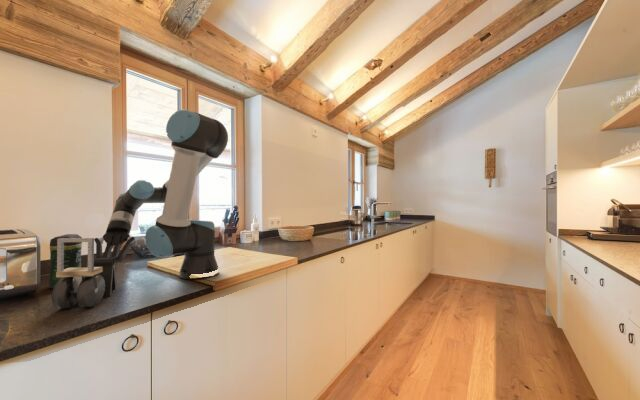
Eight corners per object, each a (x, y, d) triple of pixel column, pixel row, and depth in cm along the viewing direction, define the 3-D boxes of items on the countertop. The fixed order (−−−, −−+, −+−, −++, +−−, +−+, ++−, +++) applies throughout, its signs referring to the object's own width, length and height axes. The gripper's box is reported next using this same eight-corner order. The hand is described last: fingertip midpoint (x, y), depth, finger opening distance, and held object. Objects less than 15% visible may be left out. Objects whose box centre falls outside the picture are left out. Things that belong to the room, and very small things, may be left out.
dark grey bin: (109, 296, 89) (110, 259, 89) (86, 299, 86) (86, 261, 86) (116, 288, 97) (117, 254, 97) (95, 290, 95) (95, 256, 95)
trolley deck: (102, 271, 84) (102, 266, 84) (92, 276, 79) (92, 270, 79) (68, 272, 82) (68, 267, 82) (56, 277, 77) (56, 272, 77)
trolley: (105, 300, 86) (105, 235, 86) (86, 311, 77) (87, 239, 77) (73, 301, 84) (74, 235, 84) (51, 313, 76) (51, 239, 76)
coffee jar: (73, 288, 97) (74, 235, 97) (44, 290, 94) (45, 236, 94) (85, 280, 106) (85, 232, 106) (58, 282, 103) (59, 233, 103)
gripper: (141, 230, 114) (128, 282, 98) (103, 231, 109) (83, 285, 94) (137, 218, 109) (123, 271, 93) (97, 219, 104) (76, 274, 89)
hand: (103, 278), depth 94 cm, fingers closed
